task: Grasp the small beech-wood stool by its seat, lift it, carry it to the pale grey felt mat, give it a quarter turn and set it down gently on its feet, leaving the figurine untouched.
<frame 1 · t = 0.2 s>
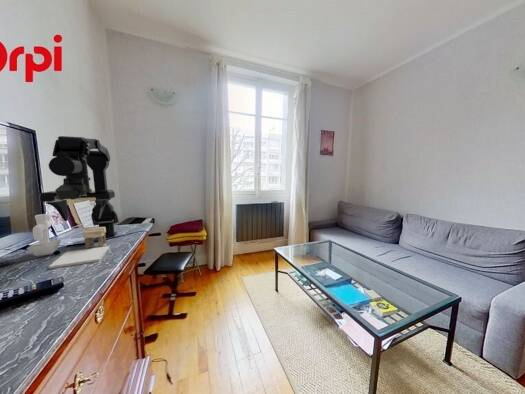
hand: (82, 219, 70), 14 cm above the dresser, fingers open, 9 cm apart
mat: (82, 257, 73), on the dresser
figurine: (46, 253, 77), on the dresser
stool: (96, 245, 84), on the dresser
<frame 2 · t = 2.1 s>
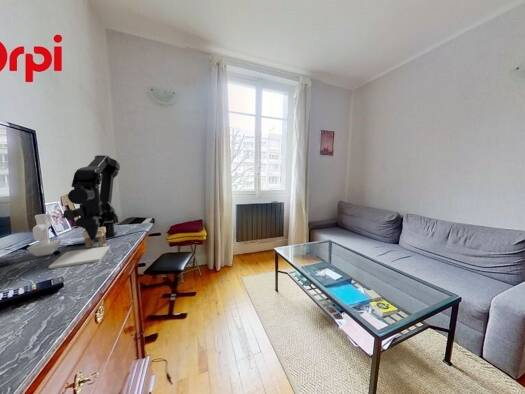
hand: (95, 237, 84), 4 cm above the dresser, fingers closed on stool, 6 cm apart
stool: (96, 245, 84), on the dresser, touching gripper
everything else where it was.
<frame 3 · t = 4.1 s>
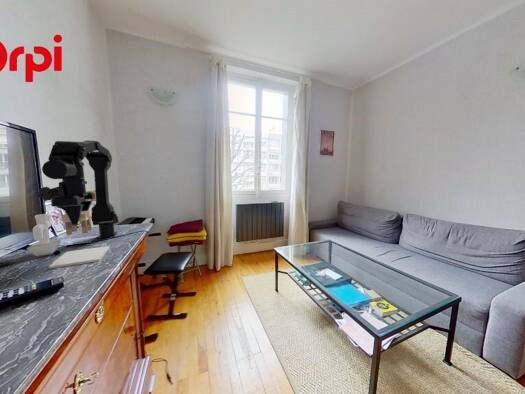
hand: (78, 222, 72), 13 cm above the dresser, fingers closed on stool, 6 cm apart
stool: (79, 232, 72), point 9 cm above the dresser, touching gripper
everything else where it was.
when the fingers open (5 cm above the dresser, at t = 6.0 s): stool stays where it is, resting on mat.
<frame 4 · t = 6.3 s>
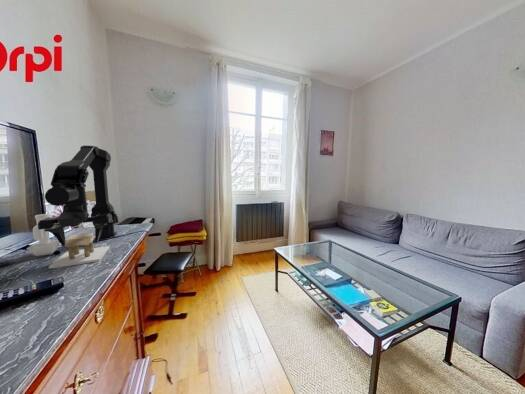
hand: (80, 244, 72), 5 cm above the dresser, fingers open, 9 cm apart
stool: (82, 255, 73), point 1 cm above the dresser, touching mat
everything else where it was.
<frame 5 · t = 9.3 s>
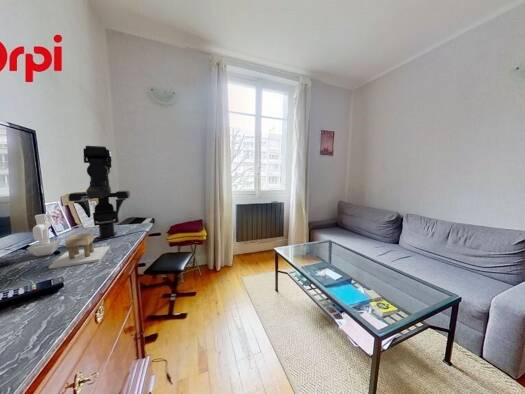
hand: (103, 216, 82), 13 cm above the dresser, fingers open, 9 cm apart
nothing on the dresser moved.
at the end: stool inside the target area on the mat (0.1 cm from its centre), point 0.8 cm above the mat's base; stool tilted 0°; the gripper is holding nothing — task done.
